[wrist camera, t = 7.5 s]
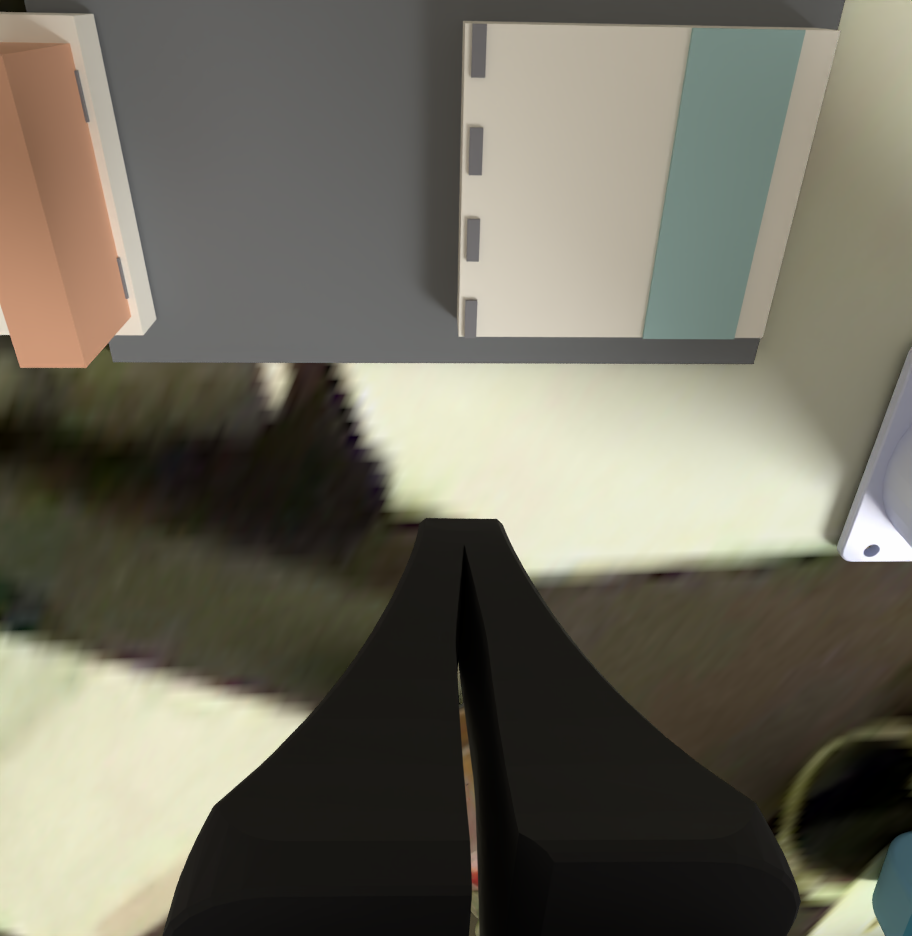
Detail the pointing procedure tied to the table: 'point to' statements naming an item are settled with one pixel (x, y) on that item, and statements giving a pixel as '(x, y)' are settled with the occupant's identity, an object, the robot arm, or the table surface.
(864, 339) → the table surface
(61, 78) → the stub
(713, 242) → the ticket
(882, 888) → the data package
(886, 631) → the table surface
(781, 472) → the table surface
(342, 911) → the robot arm
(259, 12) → the mat
